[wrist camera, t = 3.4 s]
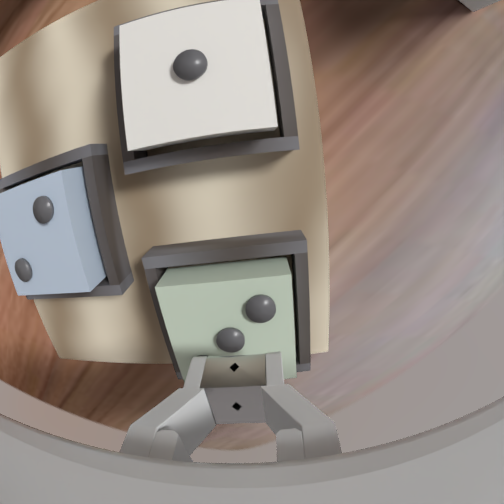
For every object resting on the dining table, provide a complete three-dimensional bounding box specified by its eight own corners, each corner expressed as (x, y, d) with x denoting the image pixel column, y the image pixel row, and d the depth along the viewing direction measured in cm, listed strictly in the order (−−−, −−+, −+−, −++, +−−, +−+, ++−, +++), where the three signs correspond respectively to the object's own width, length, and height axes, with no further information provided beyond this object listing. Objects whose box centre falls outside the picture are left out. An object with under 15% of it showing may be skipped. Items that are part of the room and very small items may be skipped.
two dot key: (37, 280, 12) (16, 297, 11) (14, 190, 11) (-12, 198, 9) (108, 274, 12) (88, 294, 10) (84, 165, 11) (58, 170, 9)
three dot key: (191, 359, 14) (184, 387, 12) (167, 268, 12) (153, 289, 10) (292, 352, 14) (296, 380, 12) (286, 256, 12) (292, 276, 10)
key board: (72, 341, 17) (49, 371, 14) (18, 61, 11) (-16, 54, 7) (321, 330, 17) (334, 369, 13) (286, -19, 10) (294, -54, 7)
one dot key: (145, 150, 10) (125, 150, 9) (136, 40, 9) (117, 24, 7) (274, 130, 10) (278, 126, 8) (258, 17, 9) (258, -6, 7)
